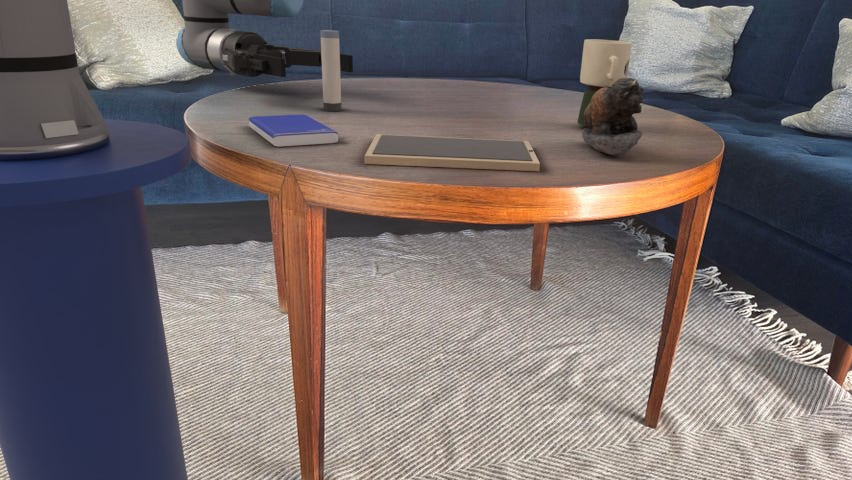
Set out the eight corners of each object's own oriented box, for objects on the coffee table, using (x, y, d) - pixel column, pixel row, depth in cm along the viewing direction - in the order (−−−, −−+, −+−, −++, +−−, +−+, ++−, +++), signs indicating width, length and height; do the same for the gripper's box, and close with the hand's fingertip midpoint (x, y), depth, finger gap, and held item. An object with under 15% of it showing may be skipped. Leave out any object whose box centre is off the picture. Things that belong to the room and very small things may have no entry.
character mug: (629, 136, 97) (643, 45, 92) (583, 134, 96) (594, 42, 91) (609, 122, 107) (620, 39, 102) (567, 121, 106) (576, 37, 101)
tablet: (364, 164, 73) (364, 154, 72) (376, 141, 84) (376, 133, 84) (539, 171, 74) (540, 162, 74) (528, 148, 85) (528, 140, 85)
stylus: (320, 109, 104) (317, 29, 99) (336, 107, 105) (333, 30, 101) (328, 111, 102) (325, 31, 97) (344, 110, 103) (342, 31, 99)
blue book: (338, 130, 81) (307, 113, 91) (272, 134, 77) (247, 116, 87) (338, 142, 82) (308, 124, 92) (273, 147, 78) (248, 127, 88)
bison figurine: (570, 141, 91) (578, 67, 87) (618, 142, 92) (628, 69, 88) (595, 162, 80) (605, 78, 76) (649, 163, 81) (662, 80, 77)
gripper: (298, 71, 125) (375, 84, 113) (175, 79, 106) (252, 96, 95) (296, 30, 122) (375, 39, 111) (169, 30, 103) (248, 42, 92)
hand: (319, 65), depth 103 cm, fingers open, 13 cm apart
